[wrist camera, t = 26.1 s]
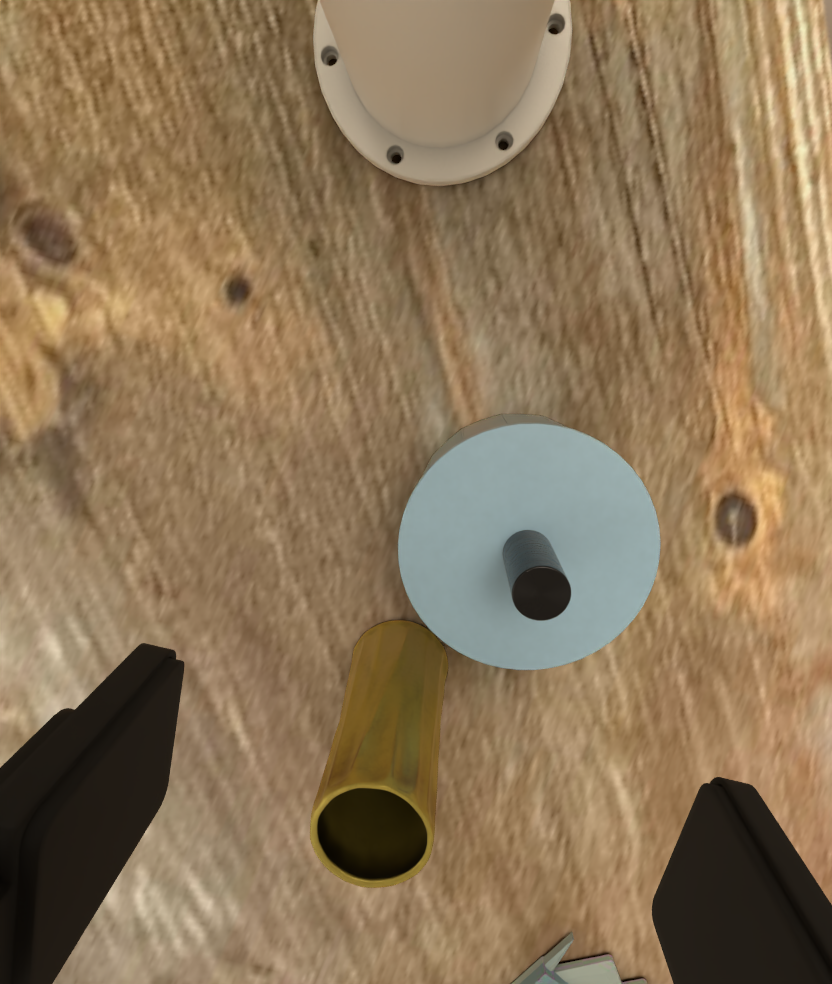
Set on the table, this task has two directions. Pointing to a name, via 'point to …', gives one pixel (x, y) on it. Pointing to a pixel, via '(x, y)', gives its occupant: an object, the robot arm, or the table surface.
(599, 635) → the lid
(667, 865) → the robot arm
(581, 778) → the table surface
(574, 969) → the calendar
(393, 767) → the vase
